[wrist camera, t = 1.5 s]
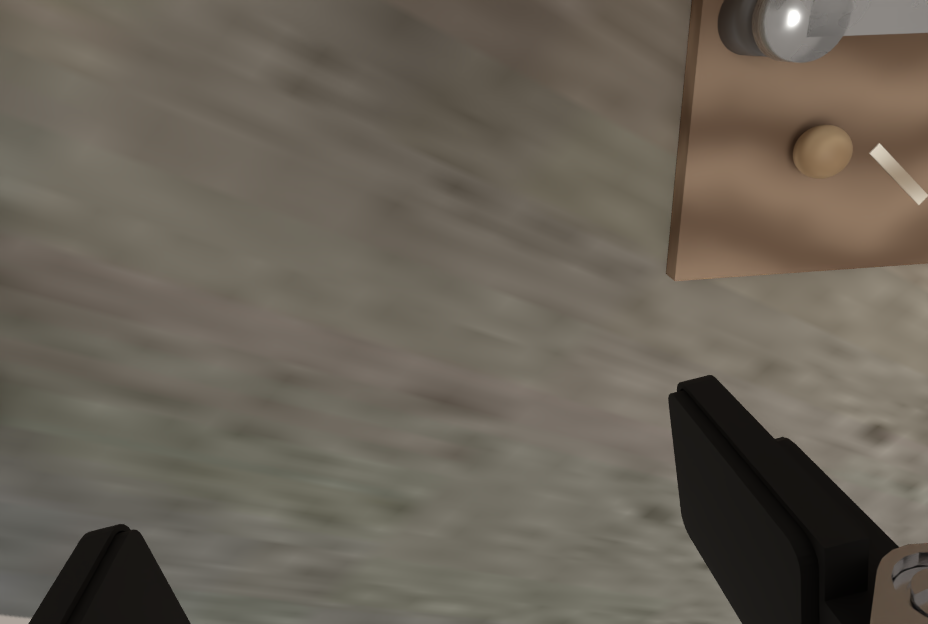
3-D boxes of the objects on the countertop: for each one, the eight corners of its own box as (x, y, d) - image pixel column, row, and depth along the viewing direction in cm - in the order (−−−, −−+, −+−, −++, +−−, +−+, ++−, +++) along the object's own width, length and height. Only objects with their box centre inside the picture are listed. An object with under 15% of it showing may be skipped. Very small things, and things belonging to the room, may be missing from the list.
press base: (693, -17, 38) (740, -25, 33) (1009, -27, 40) (1099, -36, 35) (666, 273, 45) (700, 303, 40) (935, 255, 47) (1001, 281, 42)
